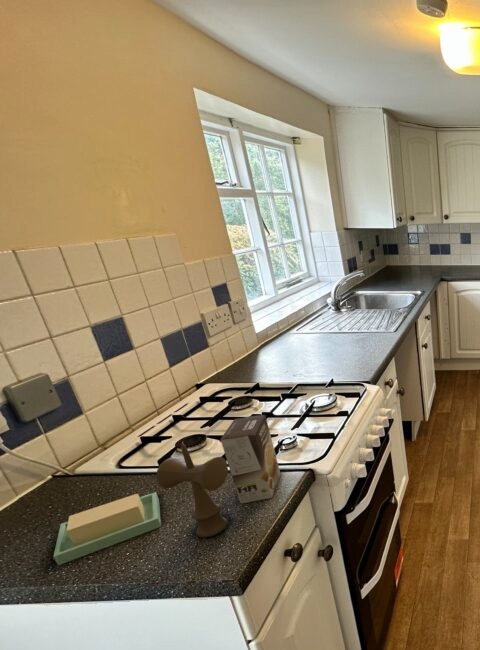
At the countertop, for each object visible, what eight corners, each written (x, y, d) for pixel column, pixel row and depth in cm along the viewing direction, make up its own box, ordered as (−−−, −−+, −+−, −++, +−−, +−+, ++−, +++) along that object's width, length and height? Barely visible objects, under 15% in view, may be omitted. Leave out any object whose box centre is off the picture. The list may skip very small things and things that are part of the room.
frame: (58, 565, 73) (53, 556, 72) (65, 532, 80) (60, 523, 79) (161, 526, 81) (157, 518, 81) (158, 499, 89) (155, 491, 88)
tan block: (75, 547, 76) (66, 531, 74) (77, 532, 79) (69, 516, 78) (145, 522, 82) (138, 506, 80) (144, 508, 85) (137, 493, 84)
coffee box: (273, 498, 89) (255, 435, 83) (239, 504, 87) (219, 440, 81) (281, 473, 97) (265, 414, 91) (251, 478, 95) (232, 418, 89)
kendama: (227, 542, 78) (196, 453, 70) (177, 541, 78) (141, 452, 70) (246, 519, 83) (220, 435, 76) (200, 518, 84) (169, 434, 76)
